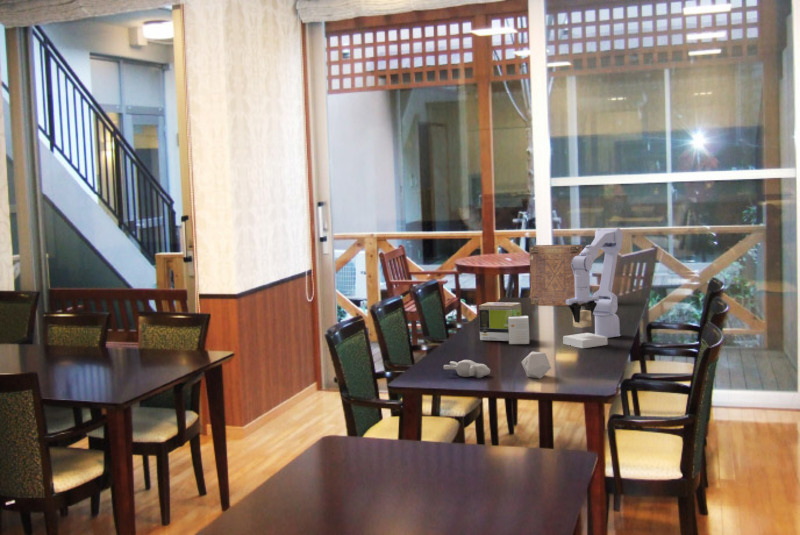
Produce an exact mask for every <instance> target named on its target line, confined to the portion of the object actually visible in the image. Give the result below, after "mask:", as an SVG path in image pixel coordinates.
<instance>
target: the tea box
mask: <svg viewBox="0 0 800 535" xmlns="http://www.w3.org/2000/svg"><path fill="white" fill-rule="evenodd" d="M509 316H522V302H494V301H493V302H492V301H491V302H489V301H487V302H485V303H482V304H479V305H478V317H479V318H478V319H479V320H478V322H479V323H478V324H479V339H480V341H495V342H496V341H497V342H499V341H500V342H509V327H508V318H509Z"/></svg>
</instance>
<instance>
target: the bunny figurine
mask: <svg viewBox="0 0 800 535" xmlns="http://www.w3.org/2000/svg"><path fill="white" fill-rule="evenodd" d="M443 370H455V371H456V373H457V375H458V376H460V377H465V378H467V377H468V378H469V377H475V378H476V377H477V379H480V378H483V377H485V376H488V375H489V374H491V368H490V367H488V366H487V365H486V364H484V363H478V362H475V361H473V360H470V359H463V360H461V361H458V362H457V361H453V360H452V361H451V360H450V362H449V364H444V365H443Z"/></svg>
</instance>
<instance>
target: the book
mask: <svg viewBox="0 0 800 535" xmlns="http://www.w3.org/2000/svg"><path fill="white" fill-rule="evenodd" d="M528 248H529V278H530V280H529V281H530V282H529V284H530V286H529V287H530V305H531V306H549V307H550V306H553V307H555V306H556V307H557V306H558V307H559V306H560V307H561V306H562V307H569V305H566V299H572V298H574V297H575V277H574V275H573V269H572V267H571V263H572V259H573V258H574V257H575V256H579V254H580V253H581V252H582V251H583V249H584V247H583V244H534V245H533V246H529V247H528ZM580 302H582V301H580ZM578 304H579V305H581V306H582V305H584V303H578Z"/></svg>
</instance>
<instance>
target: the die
mask: <svg viewBox="0 0 800 535" xmlns="http://www.w3.org/2000/svg"><path fill="white" fill-rule="evenodd" d="M521 365H522V367H523V369H524V371H525V374H526V377H528V378H533V379H534V378H535V379H542V378H543V377H544V376H545V375H546V374H547V373H548V372H549V371H550V370H551V369H552V366H551V364H550V361H549V359H548V356H547V353H546V352H540V351H531V352H530V353H529V354H528V355H527V356H525V357H524V359H523V360H522V361H521Z"/></svg>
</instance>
